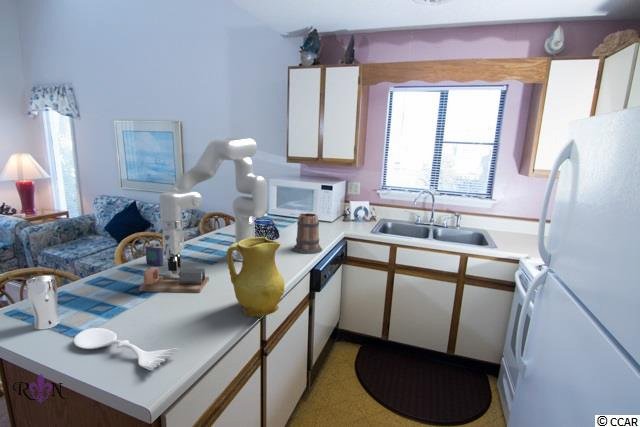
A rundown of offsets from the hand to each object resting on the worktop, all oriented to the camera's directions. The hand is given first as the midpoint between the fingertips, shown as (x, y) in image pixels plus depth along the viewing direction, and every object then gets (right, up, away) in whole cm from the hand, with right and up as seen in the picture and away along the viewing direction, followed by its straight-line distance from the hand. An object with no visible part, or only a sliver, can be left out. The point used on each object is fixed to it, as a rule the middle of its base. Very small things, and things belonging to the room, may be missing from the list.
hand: (174, 268), depth 130 cm
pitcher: (+36, -12, -14) cm, 40 cm away
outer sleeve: (+7, -6, +1) cm, 9 cm away
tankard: (+52, +2, +56) cm, 77 cm away
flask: (-20, -2, +23) cm, 30 cm away
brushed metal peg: (+3, -5, +1) cm, 6 cm away
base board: (0, -7, +1) cm, 7 cm away
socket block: (-9, -5, +1) cm, 11 cm away
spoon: (+4, -16, -41) cm, 44 cm away
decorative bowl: (+22, +7, +76) cm, 80 cm away
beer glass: (-26, -13, -29) cm, 41 cm away
